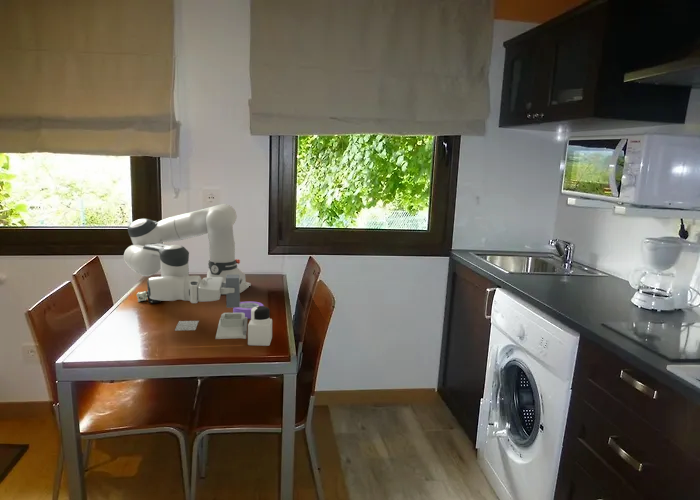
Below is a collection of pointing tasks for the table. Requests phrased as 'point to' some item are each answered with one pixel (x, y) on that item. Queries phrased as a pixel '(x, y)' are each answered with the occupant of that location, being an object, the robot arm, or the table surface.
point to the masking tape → (246, 308)
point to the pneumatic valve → (145, 297)
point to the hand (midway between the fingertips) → (235, 287)
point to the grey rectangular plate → (186, 325)
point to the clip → (234, 298)
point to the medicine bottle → (260, 327)
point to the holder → (232, 326)
